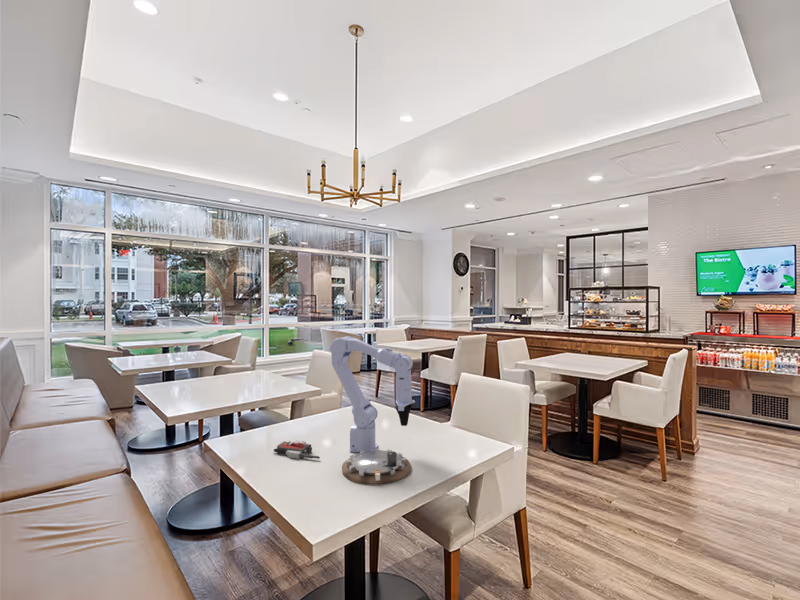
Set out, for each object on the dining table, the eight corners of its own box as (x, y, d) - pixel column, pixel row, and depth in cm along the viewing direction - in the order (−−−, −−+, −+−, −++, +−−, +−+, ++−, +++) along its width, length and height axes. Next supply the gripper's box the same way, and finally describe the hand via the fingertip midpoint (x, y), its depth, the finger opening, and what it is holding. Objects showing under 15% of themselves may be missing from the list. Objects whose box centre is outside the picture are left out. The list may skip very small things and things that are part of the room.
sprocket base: (332, 481, 126) (332, 472, 126) (353, 453, 148) (353, 445, 148) (404, 487, 122) (404, 477, 122) (414, 457, 144) (414, 449, 144)
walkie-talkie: (269, 456, 147) (318, 462, 141) (269, 444, 147) (317, 450, 141) (283, 447, 156) (329, 453, 149) (283, 436, 156) (329, 441, 149)
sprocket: (341, 457, 141) (341, 441, 141) (394, 450, 148) (394, 435, 148) (354, 481, 122) (354, 463, 122) (414, 471, 129) (414, 454, 129)
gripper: (411, 393, 141) (412, 432, 141) (416, 384, 155) (417, 419, 155) (392, 392, 142) (392, 431, 142) (399, 384, 156) (399, 419, 156)
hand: (404, 425), depth 149 cm, fingers closed
